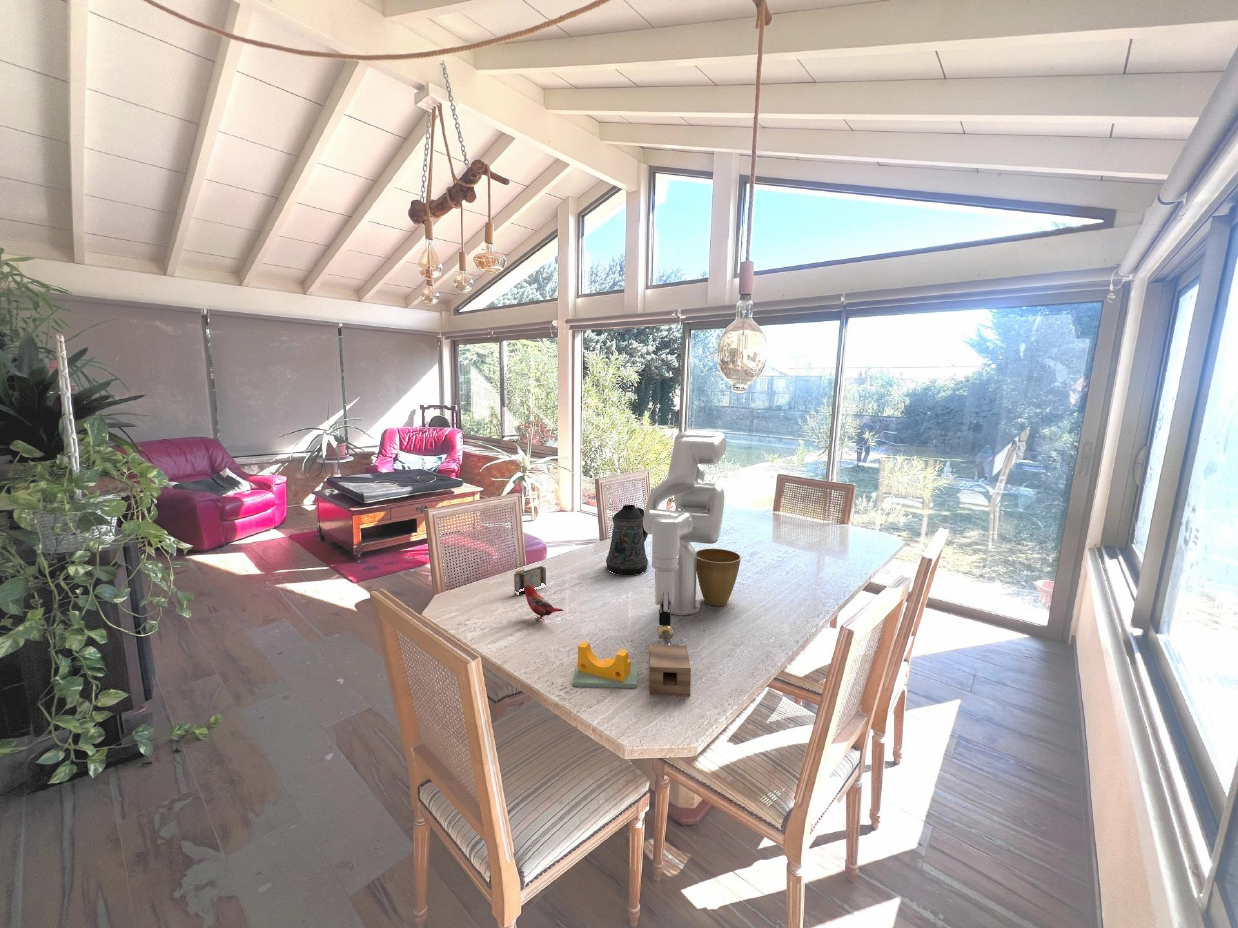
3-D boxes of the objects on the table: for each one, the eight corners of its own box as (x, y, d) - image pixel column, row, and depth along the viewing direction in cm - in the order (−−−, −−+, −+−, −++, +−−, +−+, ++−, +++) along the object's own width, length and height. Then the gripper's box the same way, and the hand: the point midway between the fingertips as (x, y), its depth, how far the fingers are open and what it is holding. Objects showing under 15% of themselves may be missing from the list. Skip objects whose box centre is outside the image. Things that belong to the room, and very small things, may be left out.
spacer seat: (577, 665, 124) (577, 661, 123) (637, 666, 123) (637, 662, 123) (572, 685, 115) (572, 682, 115) (636, 687, 114) (636, 683, 114)
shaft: (658, 638, 133) (658, 624, 132) (672, 638, 133) (673, 625, 132) (660, 669, 118) (660, 654, 117) (676, 670, 118) (677, 654, 117)
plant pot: (740, 613, 153) (742, 563, 151) (692, 609, 156) (693, 560, 154) (738, 594, 167) (740, 549, 165) (694, 590, 170) (695, 546, 168)
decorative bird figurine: (528, 611, 154) (527, 581, 153) (567, 628, 143) (567, 595, 142) (520, 614, 152) (519, 584, 151) (560, 632, 141) (559, 599, 139)
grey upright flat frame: (519, 597, 166) (518, 570, 164) (514, 595, 168) (513, 568, 167) (547, 588, 174) (546, 562, 172) (542, 586, 176) (541, 560, 174)
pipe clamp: (630, 672, 119) (630, 647, 118) (623, 681, 115) (623, 655, 114) (586, 661, 123) (585, 637, 122) (578, 670, 119) (577, 645, 118)
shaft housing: (649, 670, 121) (649, 644, 120) (686, 671, 121) (686, 645, 120) (649, 694, 111) (649, 666, 110) (690, 695, 111) (690, 667, 110)
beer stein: (600, 573, 187) (599, 509, 184) (615, 557, 205) (615, 499, 202) (642, 578, 182) (642, 512, 179) (654, 561, 201) (654, 501, 197)
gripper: (651, 552, 143) (650, 612, 145) (652, 570, 128) (651, 636, 130) (677, 553, 142) (676, 613, 145) (681, 571, 128) (679, 637, 130)
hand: (664, 624), depth 138 cm, fingers closed
